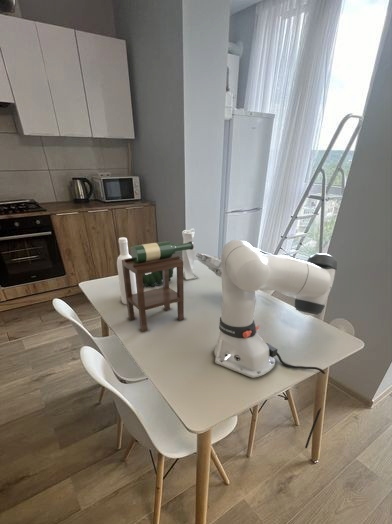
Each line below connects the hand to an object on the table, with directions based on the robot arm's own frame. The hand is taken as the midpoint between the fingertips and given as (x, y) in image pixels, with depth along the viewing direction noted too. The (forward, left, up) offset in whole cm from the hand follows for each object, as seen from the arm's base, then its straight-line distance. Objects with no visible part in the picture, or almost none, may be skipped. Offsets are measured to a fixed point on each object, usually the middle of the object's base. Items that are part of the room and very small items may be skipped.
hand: (203, 257), depth 131 cm
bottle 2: (+3, +20, +3) cm, 20 cm away
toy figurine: (+36, -1, -23) cm, 43 cm away
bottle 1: (+27, +23, -23) cm, 43 cm away
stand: (+4, +25, -23) cm, 34 cm away
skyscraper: (+31, -21, -23) cm, 45 cm away
